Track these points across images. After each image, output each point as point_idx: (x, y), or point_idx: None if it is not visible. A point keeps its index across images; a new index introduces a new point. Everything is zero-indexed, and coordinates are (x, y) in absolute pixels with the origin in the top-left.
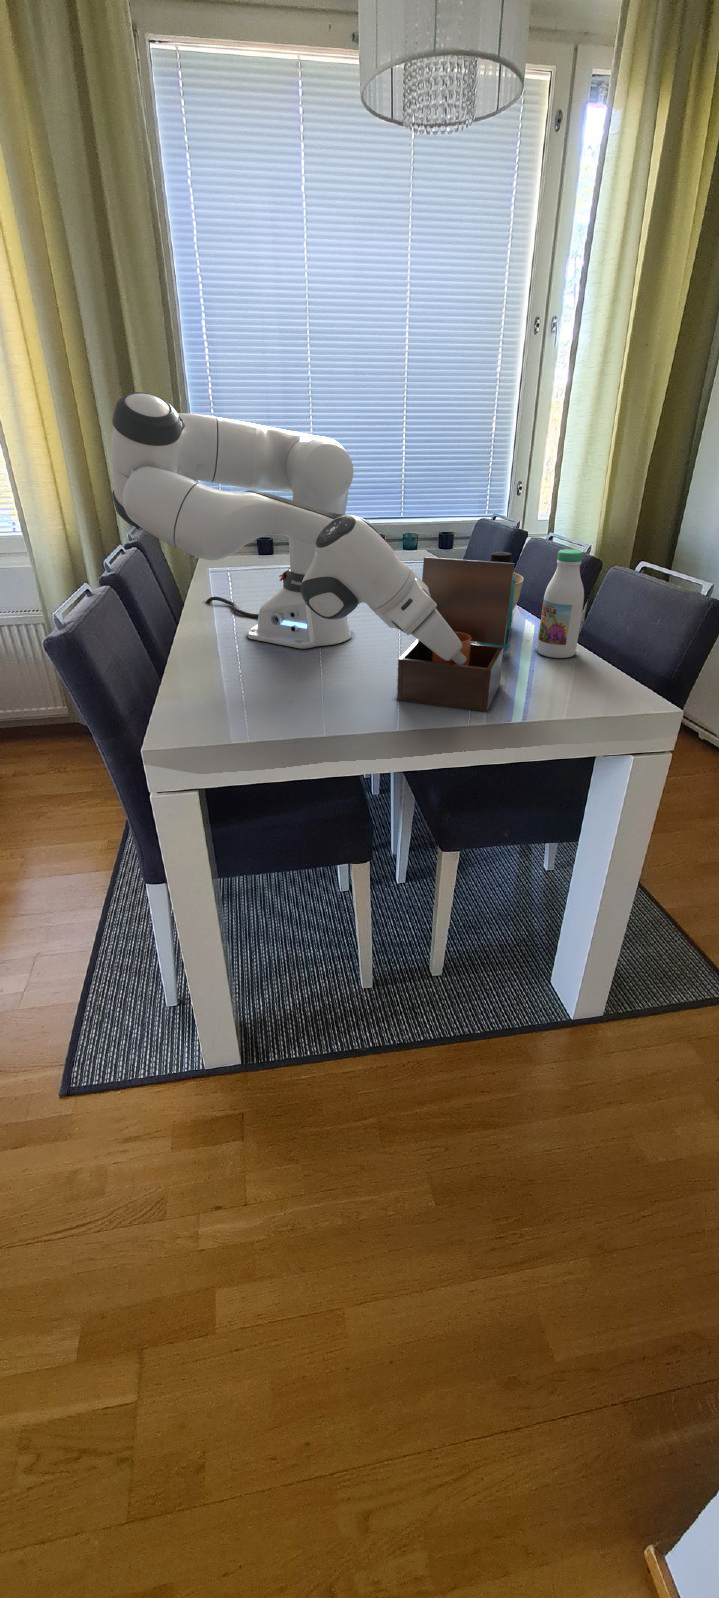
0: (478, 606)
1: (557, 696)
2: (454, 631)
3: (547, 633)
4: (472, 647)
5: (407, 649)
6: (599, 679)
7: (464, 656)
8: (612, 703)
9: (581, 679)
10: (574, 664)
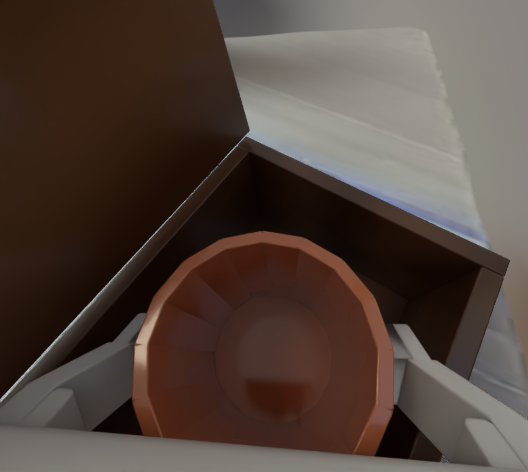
0: (68, 55)
1: (341, 131)
2: (160, 289)
3: None
4: (192, 222)
5: None
6: (276, 56)
7: (413, 335)
8: (386, 73)
9: (268, 75)
10: None
